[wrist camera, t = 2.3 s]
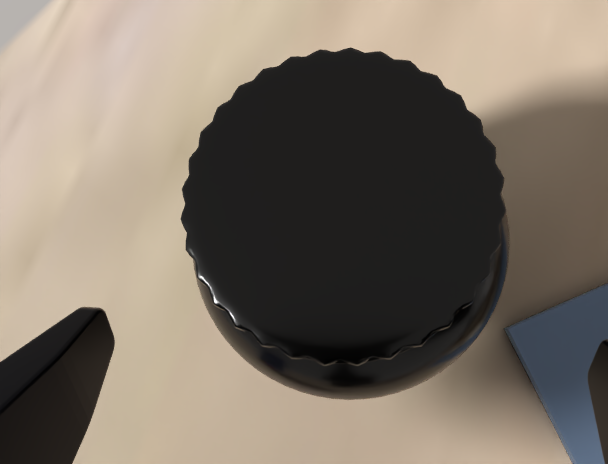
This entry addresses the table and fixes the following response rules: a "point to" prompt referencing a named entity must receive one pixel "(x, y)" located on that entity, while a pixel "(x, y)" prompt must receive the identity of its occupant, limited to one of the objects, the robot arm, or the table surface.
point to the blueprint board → (566, 366)
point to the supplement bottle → (347, 224)
